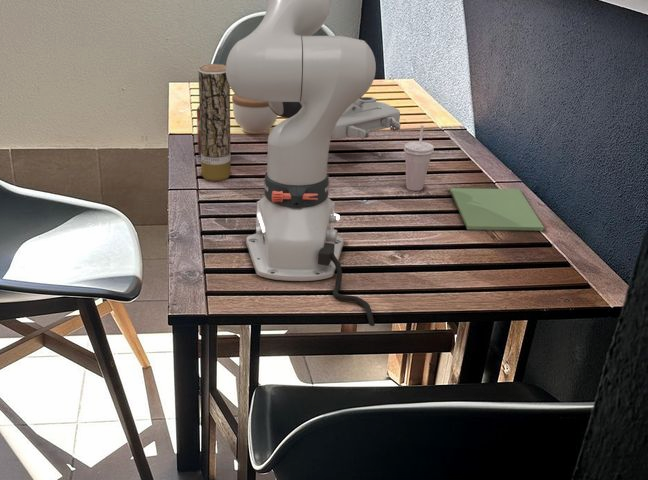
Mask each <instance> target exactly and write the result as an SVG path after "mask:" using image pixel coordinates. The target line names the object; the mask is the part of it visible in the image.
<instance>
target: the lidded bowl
mask: <svg viewBox="0 0 648 480" xmlns="http://www.w3.org/2000/svg"><path fill="white" fill-rule="evenodd" d="M231 101H232V112H233V117H234V120H235V122H236V124H237V125H238V126H239V127H240V128H241V129H242V131H243V132H245V133H247V134H253V135H254V134H255V135H258V134H264V133H267V132H269V131H270V129H271V128H272V127H273V126H274V124H275V123H276V122H277V119H278V117H279V116H278V115H276V114H275V113H274V112H273V111H272V110H271V108H270V106H269V104H268V102H261V101H255V100H250V99H245V98H241V97H238V96H237V95H236V94H235V93H233V94H232V96H231Z"/></svg>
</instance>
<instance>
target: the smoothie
mask: <svg viewBox="0 0 648 480" xmlns="http://www.w3.org/2000/svg"><path fill="white" fill-rule="evenodd" d="M424 127H425V126H424V125H422V124H421V125H420V132H419V141H417V140H416V141H409V142H406V143H405V144H404V145H403V146H404V147H403V151H404V153H405V154H404V157H405V159H404V160H405V188H406V189H407V190H409V191H414V192H415V191H416V192H417V191H422V190H423V189H424V186H425V181H426V177H427V175H428V174H427V173H428V169H429V167H430V162H431V157H432V154H434V151H435V150H434V149H435V145H433V144H431V143H429V142H426V141H423V136H424V135H423V134H424Z"/></svg>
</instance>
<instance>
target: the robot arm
mask: <svg viewBox="0 0 648 480" xmlns="http://www.w3.org/2000/svg"><path fill="white" fill-rule="evenodd" d="M331 7H332V0H267V1H266V10H265V14H264V16H263V18H262V20H261V22H260V23H259V24H258V26H257V27H256V28H255V29H253V31H252V32H250V33H249V34H248V35H246V36H244V37H243V38H242V39H240V40H238V41H237V42H236V43H235V44H234V45H233V46H232V48H231V49H230V50H229V53H228V56H227V57H226V61H225V65H226V76H227V80H228V83H229V85H230V90H232V92H233V94H236V95H237V96H238V97H241V98H245V99H250V100H255V101H261V102H268V104H269V106H270V108H271V110H272V111H273V112H274V113H275V114H276V115H278V116H277V117H281V118H285V119H284V120H282V121H280V122H278V124H276V125H275V126H274V127H273V128H272V129H271V131H270V132H269V134H268V137H267V151H266V152H267V153H266V156H267V159H266V160H267V161H266V172H265V174H264V179H263V187H264V195H263V197H261V198H260V199H259V200H257V201H256V222H255V223H256V225H255V228H254V233H253V234H250V235H247V236H246V239H245V245H246V248H247V251H248V254H249V256H250V259H251V262H252V265H253V268H254V270H255V274H256V275H257V276H258V277H261V278H265V279H270V280H276V281H286V282H287V281H289V282H313V281H321V280H326V279H330V278H333V277H334V275H335V272H336V279H335V285H334V288H333V290H332V296H333V297H334V298H336V299H338V300H341V301H348V302H354V303H358V304H359V305H361V306H362V307H363V308H364V310H365V313H366V317H367V322H368V325H369V326H370V327H375V325H376V324H375V320H374V316H373V312H372V308H371V305H370V304H369V302H367V301H366V300H364V299H363V298H360V297H359V296H356V295H349V294H341V293H339V291H340V290H341V286H342V279H343V270H342V269H343V268H342V265H341V264H340V261H339V260H340V256H341V254H342V251H343V247H344V238H342V237H341V236H338V229H335V224H336V223H337V221H339V220H340V214H338V213H335V209H336V208H335V206H336V204H335V203H336V202H334V201H333V200H331V198H330V197H329V189H330V175H329V173H328V163H329V162H328V161H329V160H328V159H329V153H330V144H331V140H341V139H345V138H346V139H347V138H350V137H353V138H360V139H367V138H369V136H370V135H369V134H370V133H372V132H376V131H380V130H381V131H382V130H384V129H388V128H389V130H391V131H392V132H396V131H400V130H401V122H400V121H401V111H400V110H399V108H397V107H394V106H392V105H391V104H387V103H384V102H381V101H377V98H375V97H373V96H365V95H366V94H367V92H368V91H369V90H370V88H371V87H372V85H373V83H374V81H375V77H376V72H377V71H376V70H377V66H376V65H377V63H376V57H375V55H374V52H373V50H372V49H371V47H370V45H369V44H368V43H367V41H366V40H363V39H357V38H354V37H348V36H344V35H314V34H316V33H317V32H319V30H320V29H321V28H322V26H323V25H325V23H326V21H327V20H328V17H329V15H330V10H331ZM364 96H365V97H364Z"/></svg>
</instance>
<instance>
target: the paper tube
mask: <svg viewBox="0 0 648 480" xmlns="http://www.w3.org/2000/svg"><path fill="white" fill-rule="evenodd" d="M198 102H199V104H198V106H200V141H201V156H200V167H201V176H202V178H203V179H205V180H207V181H210V182H220V181H225V180H227V179H229V178H230V176H231V174H232V173H231V171H232V169H231V168H232V167H231V161H232V160H231V158H232V157H231V154H232V153H231V87H230V85H229V83H228V80H227V76H226V64H222V63H207V64H203V65H200V66H198Z"/></svg>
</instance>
